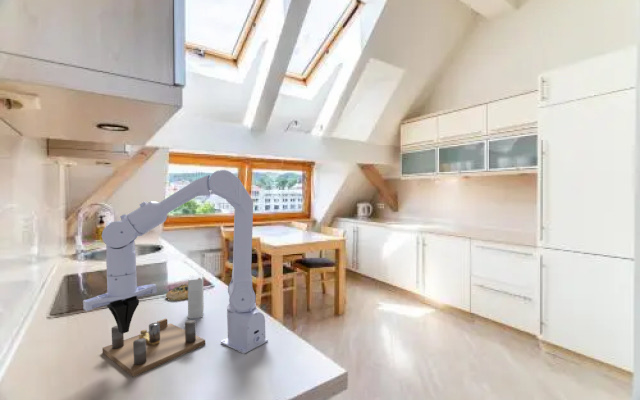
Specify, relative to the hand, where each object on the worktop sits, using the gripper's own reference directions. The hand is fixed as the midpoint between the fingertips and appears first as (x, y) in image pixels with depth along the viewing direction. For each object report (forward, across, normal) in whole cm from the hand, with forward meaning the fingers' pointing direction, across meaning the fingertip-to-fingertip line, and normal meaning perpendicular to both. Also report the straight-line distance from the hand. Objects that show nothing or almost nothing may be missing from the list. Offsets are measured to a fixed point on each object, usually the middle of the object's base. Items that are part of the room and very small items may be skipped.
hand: (123, 331), depth 73 cm
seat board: (+7, -7, 0) cm, 10 cm away
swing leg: (+6, -7, -3) cm, 9 cm away
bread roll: (+7, -32, -32) cm, 46 cm away
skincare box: (+7, -25, -11) cm, 28 cm away
